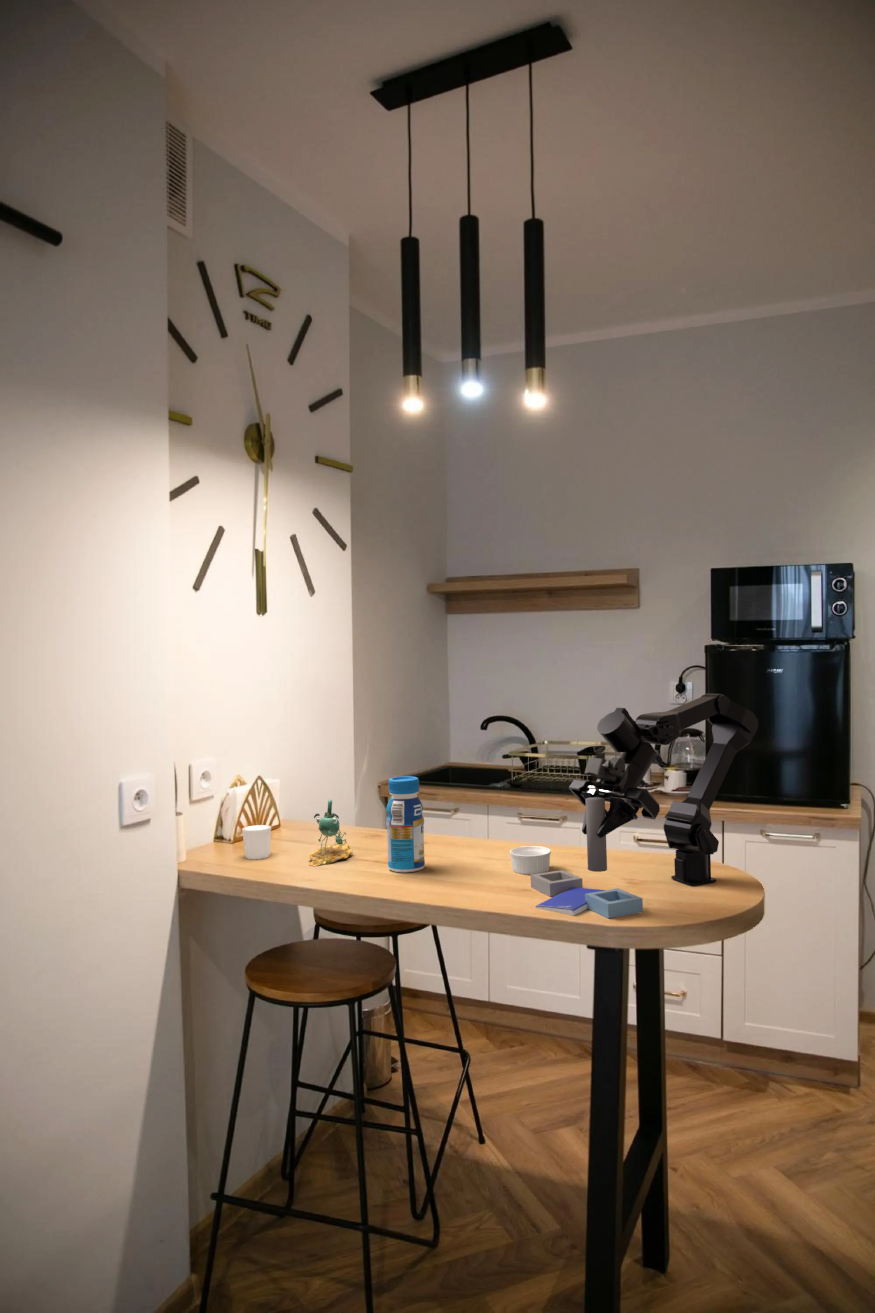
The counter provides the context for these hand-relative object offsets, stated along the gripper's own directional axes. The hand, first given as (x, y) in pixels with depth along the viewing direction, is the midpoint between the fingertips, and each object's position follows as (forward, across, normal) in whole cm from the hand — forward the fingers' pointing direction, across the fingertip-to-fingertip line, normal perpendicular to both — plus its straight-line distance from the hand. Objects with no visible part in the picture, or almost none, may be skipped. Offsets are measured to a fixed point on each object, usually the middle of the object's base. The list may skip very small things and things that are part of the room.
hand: (591, 834), depth 159 cm
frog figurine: (+23, -68, -4) cm, 71 cm away
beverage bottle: (+18, -47, +2) cm, 50 cm away
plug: (+4, 0, +6) cm, 7 cm away
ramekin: (+4, -28, +16) cm, 32 cm away
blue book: (+11, -4, +9) cm, 15 cm away
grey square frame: (+7, -13, +12) cm, 19 cm away
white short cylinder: (+32, -80, -13) cm, 88 cm away
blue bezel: (+8, +3, +11) cm, 14 cm away
